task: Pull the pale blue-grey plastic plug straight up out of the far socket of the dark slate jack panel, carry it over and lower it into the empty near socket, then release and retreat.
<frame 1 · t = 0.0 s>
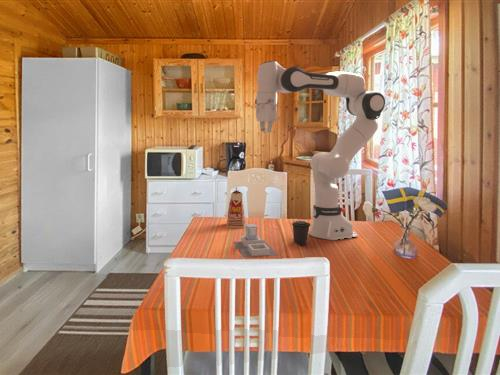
hand: (265, 132, 176), 48 cm above the table, tool pointing down, fingers open, 8 cm apart
plug: (250, 243, 171), point 1 cm above the table, touching jack panel
milk carton: (235, 225, 205), on the table
jack panel: (254, 250, 166), on the table
coffee cup: (300, 244, 176), on the table
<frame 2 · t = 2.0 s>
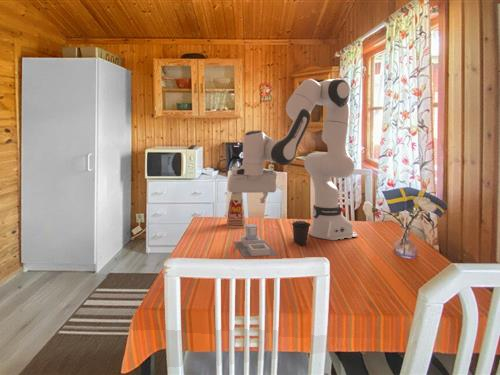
hand: (251, 202, 168), 19 cm above the table, tool pointing down, fingers open, 8 cm apart
nothing on the table moved.
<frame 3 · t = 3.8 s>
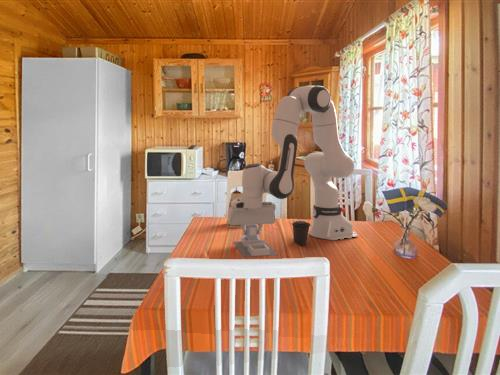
hand: (251, 234, 170), 5 cm above the table, tool pointing down, fingers closed on plug, 4 cm apart
plug: (250, 243, 171), point 1 cm above the table, touching gripper, jack panel
everything else where it was.
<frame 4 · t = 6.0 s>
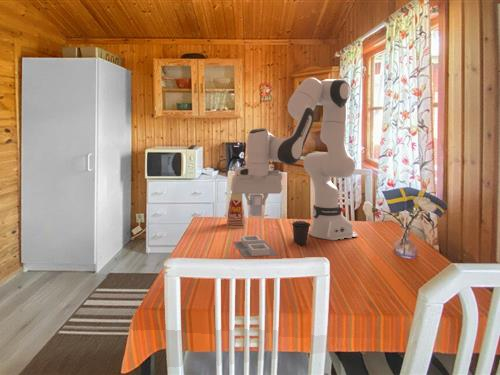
hand: (255, 204, 160), 20 cm above the table, tool pointing down, fingers closed on plug, 4 cm apart
plug: (255, 214, 161), point 16 cm above the table, touching gripper
everything else where it was.
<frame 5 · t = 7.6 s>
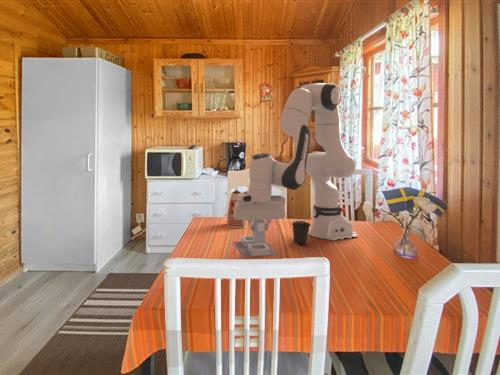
hand: (258, 230, 158), 10 cm above the table, tool pointing down, fingers closed on plug, 4 cm apart
plug: (258, 240, 159), point 6 cm above the table, touching gripper
everything else where it was.
when the fingers open (7 cm above the table, at t = 8.6 s): plug drops 1 cm, resting on jack panel.
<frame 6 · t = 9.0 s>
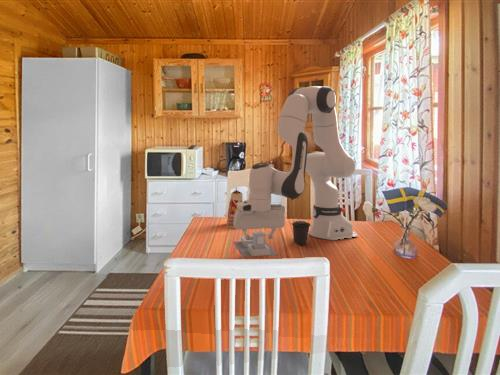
hand: (258, 239, 159), 7 cm above the table, tool pointing down, fingers open, 8 cm apart
plug: (258, 252, 160), point 1 cm above the table, touching jack panel
everything else where it was.
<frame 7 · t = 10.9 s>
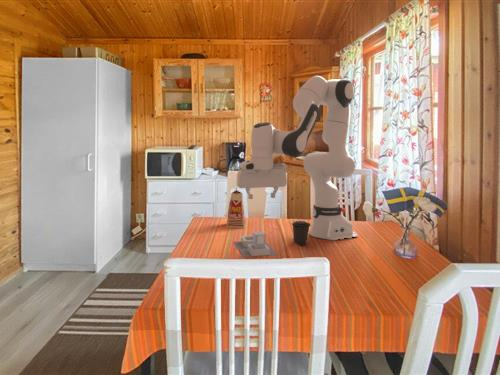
hand: (261, 198, 162), 22 cm above the table, tool pointing down, fingers open, 8 cm apart
nothing on the table moved.
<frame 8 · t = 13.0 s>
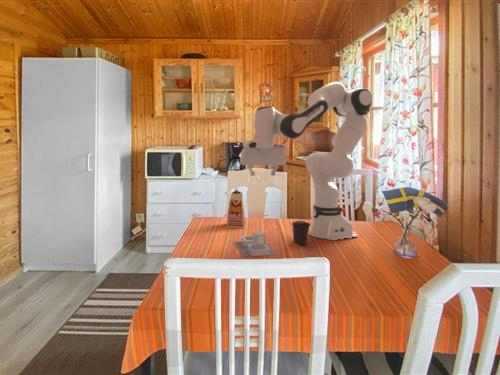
hand: (262, 175, 177), 29 cm above the table, tool pointing down, fingers open, 8 cm apart
nothing on the table moved.
at the end: plug 0.1 cm from the target spot on the jack panel, point 1.0 cm above the jack panel's base; plug tilted 0°; the gripper is holding nothing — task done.
